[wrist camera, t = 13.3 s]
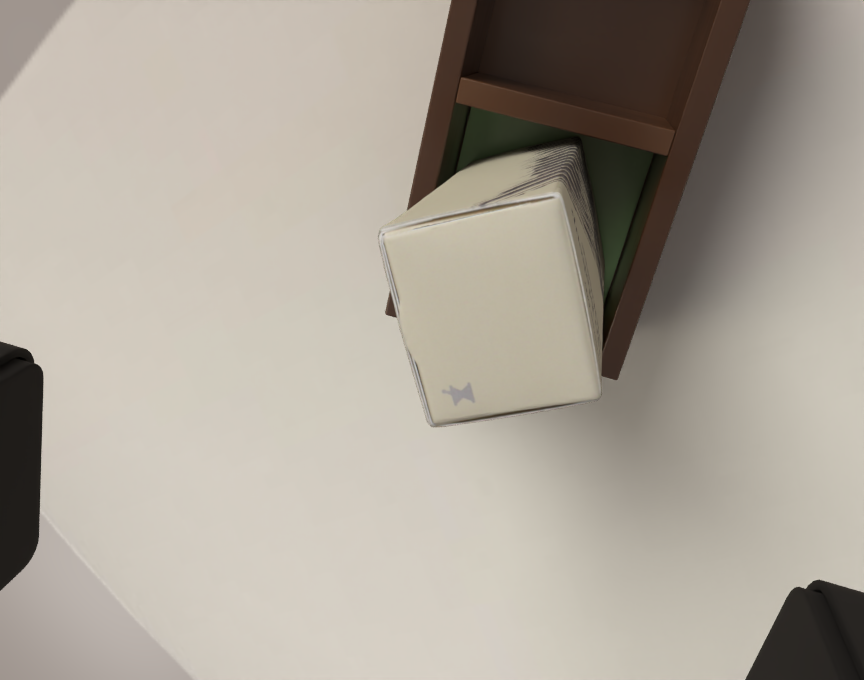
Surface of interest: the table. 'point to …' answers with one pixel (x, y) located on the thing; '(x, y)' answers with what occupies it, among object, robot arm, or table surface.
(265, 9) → the table surface
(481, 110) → the divided tray
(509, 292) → the box
